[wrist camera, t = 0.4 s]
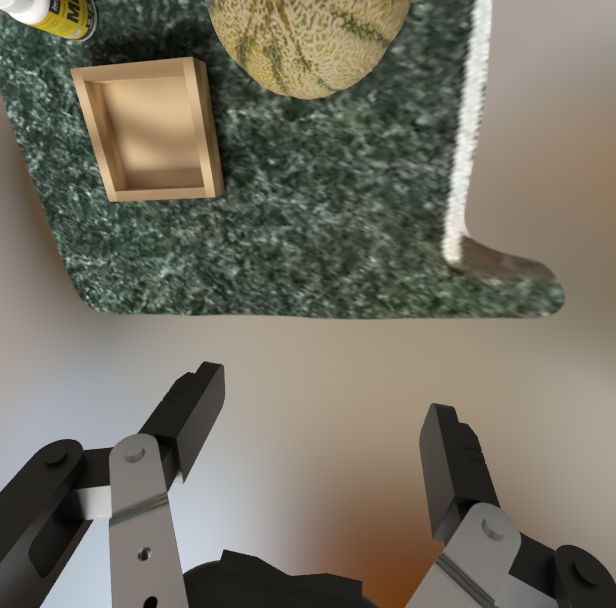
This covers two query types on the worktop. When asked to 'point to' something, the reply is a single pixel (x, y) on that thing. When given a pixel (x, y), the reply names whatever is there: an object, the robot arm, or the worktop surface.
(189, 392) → the robot arm
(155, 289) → the worktop surface
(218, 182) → the box
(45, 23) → the supplement bottle
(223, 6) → the cantaloupe
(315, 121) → the worktop surface
